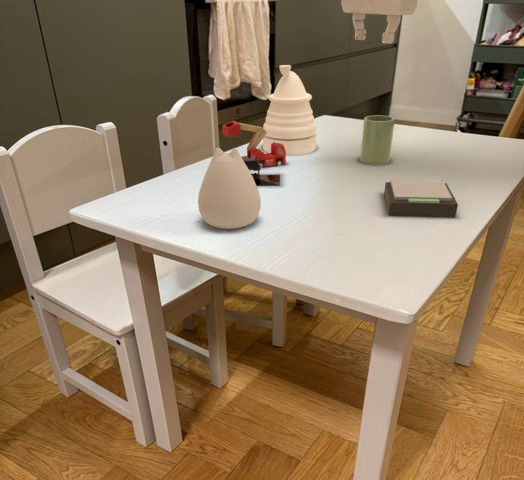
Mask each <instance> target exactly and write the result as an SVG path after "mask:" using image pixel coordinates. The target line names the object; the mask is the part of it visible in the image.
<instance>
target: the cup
mask: <svg viewBox="0 0 524 480" xmlns="http://www.w3.org/2000/svg"><path fill="white" fill-rule="evenodd" d="M395 121H396V118H395V117H393V116H390V115H381V114H379V115H377V114H375V115H367V116H365V117H363V125H362V136H361V138H362V139H361V146H360V147H361V148H360V156H359V157H360V162H361V163H363V164H365V165H372V166H380V165H382V166H383V165H386V164H388V163H390V160H391V154H392V153H391V151H392V145H393V137H394V131H395V123H396V122H395Z"/></svg>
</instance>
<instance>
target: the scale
mask: <svg viewBox="0 0 524 480" xmlns="http://www.w3.org/2000/svg"><path fill="white" fill-rule="evenodd" d="M383 197H384V201H385V205H386V206H385V207H386V211H387V215H388V217H416V218H417V217H419V218H420V217H421V218H448V219H449V218H451V219H453V218H456V217H457V210H458V207H459V204H458V202H457V200H456V198H455V196H454V194H453V192H452V191H451V188H450V187H449V184H448V183H445V181H444V180H443V179H442V180H441V179H394V178H393V179H391V178H390V180H389V181H385V184H384V191H383Z"/></svg>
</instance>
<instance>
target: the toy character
mask: <svg viewBox="0 0 524 480" xmlns="http://www.w3.org/2000/svg"><path fill="white" fill-rule="evenodd" d="M251 174H252V173H251V170H249V169H248V168H247V166H246V164H245V163H244V161H243V159H242V157H241V154H240V152H239V150H238V148H237V147H233V149H232V150H231V151H230V152H224V151H223V149H221V147H216V149H215V151H214V153H213V155H212V158H211V159H210V163H209V165H208V167H207V169H206V171H205V174H204V176H203V178H202V183H201V185H200V188H199V191H198V196H197V197H198V198H197V205H198V211H199V213H200V216H201V218H202V220H203V221H204V222H205V223H206V224H208V225H209V226H211V227H213V228H216V229H221V230H236V229H241V228H245V227H247V226H249V225H252V223H254V222H255V221H256V219H257V218H258V217H259V214H260V210H261V207H262V206H261V205H262V204H261V202H262V200H261V194H260V191H259V189H258V186H256V184H255V181H254V179H253V177H252V175H251Z"/></svg>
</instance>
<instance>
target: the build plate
mask: <svg viewBox="0 0 524 480" xmlns="http://www.w3.org/2000/svg"><path fill="white" fill-rule="evenodd" d="M242 159H243V161H244V163H245V164H246V166H247V168H248V169H249V171H253V172H254V173H251V175H252V177H253V179H254V181H255V184H256V186H257V187H280V186H281V175H280V174H261V170H262V168H260V167H261V165H260V161H258V157H251V158H250V159H248V157H242Z"/></svg>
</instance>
